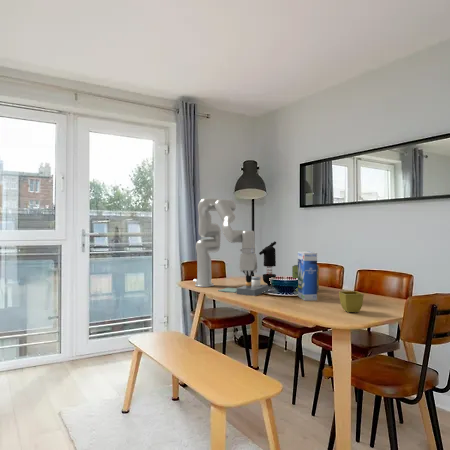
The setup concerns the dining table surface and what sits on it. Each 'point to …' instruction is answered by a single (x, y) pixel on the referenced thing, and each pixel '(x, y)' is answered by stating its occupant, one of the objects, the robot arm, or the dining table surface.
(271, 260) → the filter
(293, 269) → the protein box
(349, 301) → the flower pot
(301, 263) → the string lights box
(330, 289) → the dining table surface
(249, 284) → the release plunger
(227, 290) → the mat
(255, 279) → the dome-topped cylinder
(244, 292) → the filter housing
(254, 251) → the robot arm
